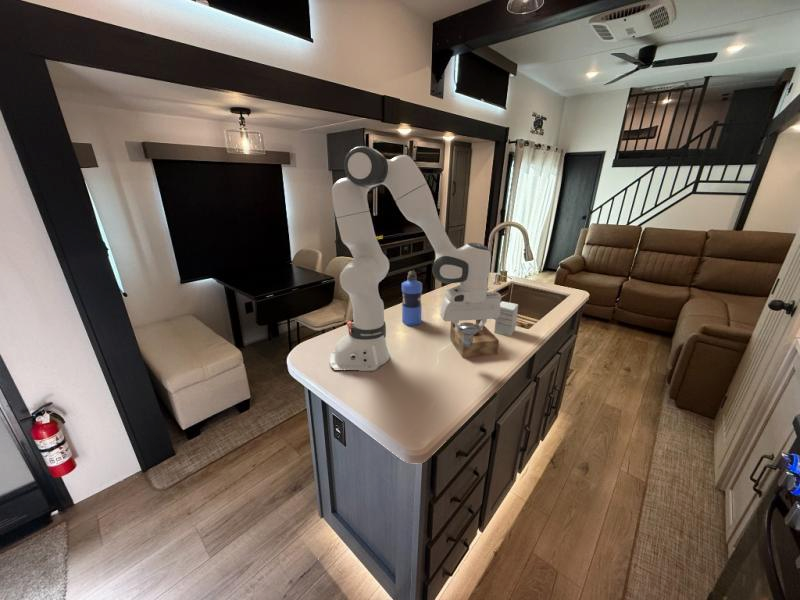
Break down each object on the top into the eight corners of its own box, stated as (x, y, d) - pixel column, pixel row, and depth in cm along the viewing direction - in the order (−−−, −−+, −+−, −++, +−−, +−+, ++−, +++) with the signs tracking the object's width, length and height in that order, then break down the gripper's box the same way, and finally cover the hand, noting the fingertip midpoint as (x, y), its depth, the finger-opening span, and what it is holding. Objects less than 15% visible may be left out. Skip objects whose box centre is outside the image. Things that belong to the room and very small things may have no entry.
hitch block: (462, 357, 116) (464, 333, 112) (448, 337, 131) (449, 316, 128) (497, 353, 118) (499, 330, 115) (479, 334, 133) (481, 313, 130)
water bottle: (401, 326, 142) (401, 273, 133) (402, 317, 151) (401, 268, 142) (421, 326, 142) (422, 273, 133) (421, 317, 151) (422, 268, 142)
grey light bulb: (461, 349, 105) (463, 331, 103) (455, 340, 111) (456, 322, 108) (479, 348, 106) (481, 330, 104) (471, 339, 112) (474, 321, 110)
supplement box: (498, 326, 141) (501, 300, 136) (515, 330, 137) (519, 304, 132) (493, 332, 135) (496, 306, 131) (510, 337, 131) (514, 309, 127)
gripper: (497, 288, 106) (492, 324, 111) (440, 290, 103) (437, 328, 108) (506, 294, 100) (500, 332, 105) (446, 297, 97) (443, 336, 102)
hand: (468, 330), depth 107 cm, fingers closed on grey light bulb, 6 cm apart
